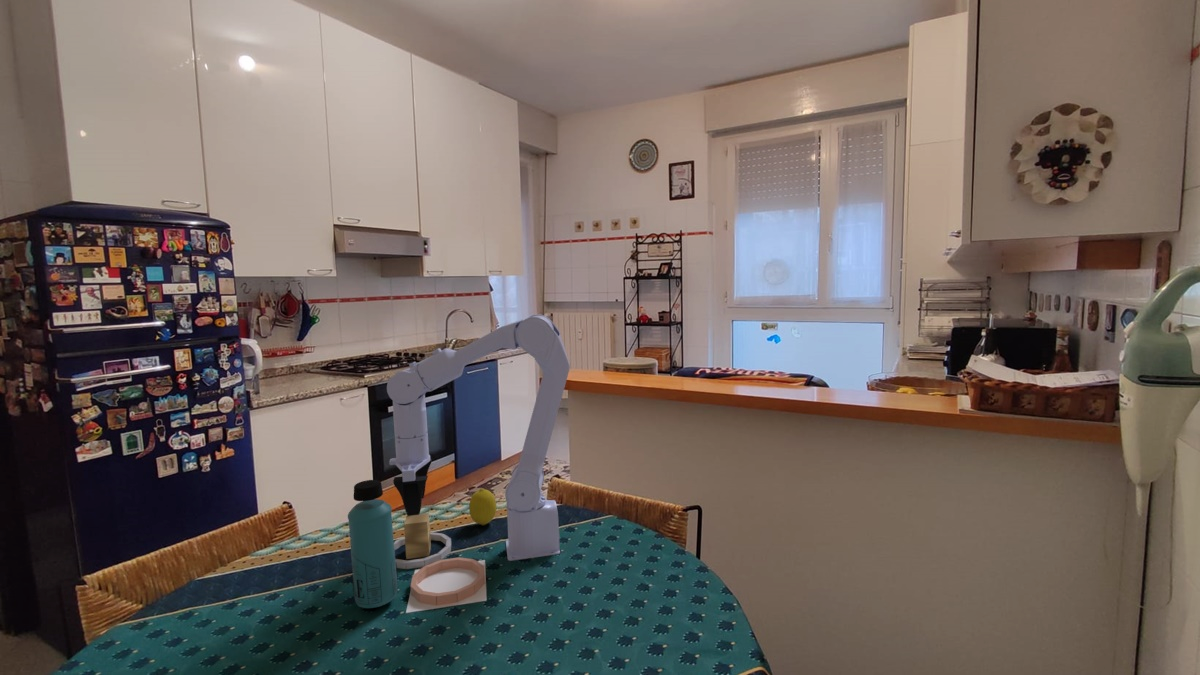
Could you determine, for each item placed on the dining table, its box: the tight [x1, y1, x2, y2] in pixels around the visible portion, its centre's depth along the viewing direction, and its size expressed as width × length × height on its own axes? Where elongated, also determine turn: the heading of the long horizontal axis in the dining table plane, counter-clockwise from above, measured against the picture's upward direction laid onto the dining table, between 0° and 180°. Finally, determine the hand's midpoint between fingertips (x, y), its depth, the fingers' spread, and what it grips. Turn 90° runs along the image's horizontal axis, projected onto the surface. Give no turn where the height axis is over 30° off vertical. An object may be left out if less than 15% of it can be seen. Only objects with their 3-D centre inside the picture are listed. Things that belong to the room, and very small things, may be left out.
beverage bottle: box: [347, 479, 399, 609], centre depth 83 cm, size 6×7×20 cm
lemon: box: [468, 488, 497, 526], centre depth 112 cm, size 6×6×8 cm
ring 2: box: [410, 557, 485, 605], centre depth 89 cm, size 12×12×2 cm
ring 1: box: [394, 531, 452, 570], centre depth 100 cm, size 12×12×2 cm
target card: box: [405, 559, 488, 614], centre depth 89 cm, size 12×13×1 cm
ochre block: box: [403, 512, 432, 560], centre depth 100 cm, size 4×4×7 cm
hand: (415, 506), depth 100 cm, fingers open, 7 cm apart
